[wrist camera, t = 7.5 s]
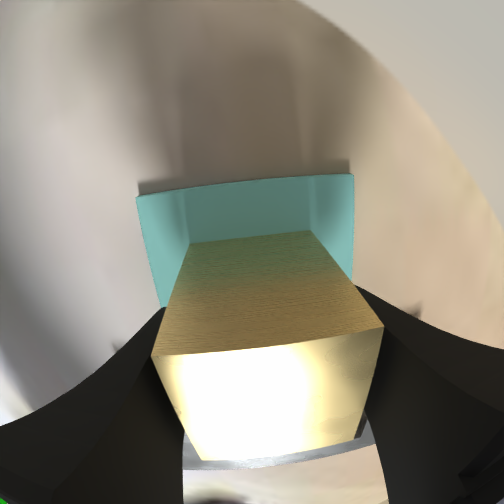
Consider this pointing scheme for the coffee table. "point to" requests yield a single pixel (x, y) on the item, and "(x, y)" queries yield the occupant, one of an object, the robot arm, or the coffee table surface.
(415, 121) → the coffee table surface
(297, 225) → the teal mat
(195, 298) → the brass block
